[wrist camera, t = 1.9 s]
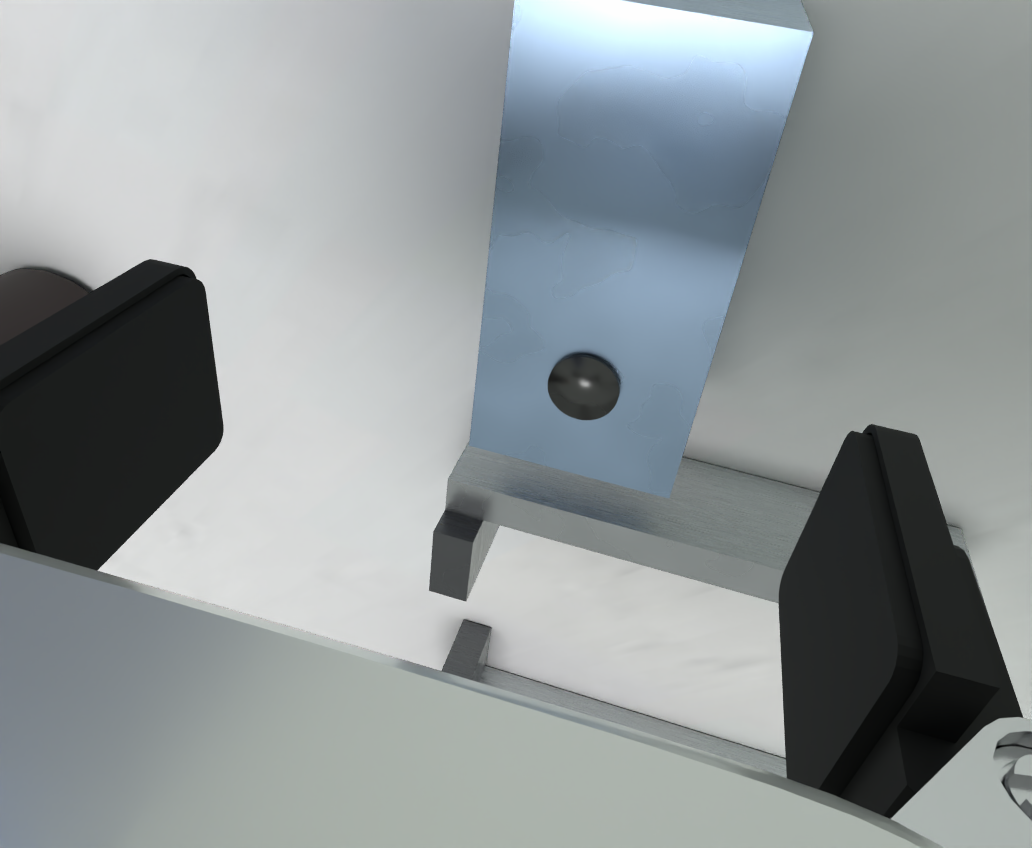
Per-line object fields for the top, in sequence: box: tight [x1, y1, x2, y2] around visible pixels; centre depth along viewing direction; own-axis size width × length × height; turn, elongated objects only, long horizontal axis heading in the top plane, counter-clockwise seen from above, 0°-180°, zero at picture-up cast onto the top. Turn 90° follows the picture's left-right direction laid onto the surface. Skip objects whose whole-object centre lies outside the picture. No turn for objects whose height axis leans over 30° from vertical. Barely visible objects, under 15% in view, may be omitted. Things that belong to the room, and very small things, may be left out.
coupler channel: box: [429, 441, 989, 778], centre depth 26 cm, size 15×14×5 cm
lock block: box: [469, 0, 814, 498], centre depth 18 cm, size 5×10×6 cm, turn 173°
